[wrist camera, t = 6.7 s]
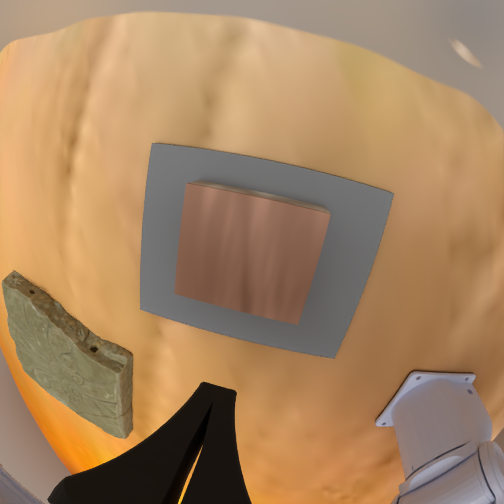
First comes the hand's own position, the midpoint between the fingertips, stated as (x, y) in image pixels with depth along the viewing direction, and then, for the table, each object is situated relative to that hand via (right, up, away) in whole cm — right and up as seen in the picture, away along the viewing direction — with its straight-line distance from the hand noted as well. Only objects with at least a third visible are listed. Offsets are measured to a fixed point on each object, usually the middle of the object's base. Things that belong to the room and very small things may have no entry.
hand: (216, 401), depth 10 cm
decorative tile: (-22, -7, +17) cm, 29 cm away
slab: (+5, +5, +7) cm, 10 cm away
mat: (+1, +5, +9) cm, 11 cm away
